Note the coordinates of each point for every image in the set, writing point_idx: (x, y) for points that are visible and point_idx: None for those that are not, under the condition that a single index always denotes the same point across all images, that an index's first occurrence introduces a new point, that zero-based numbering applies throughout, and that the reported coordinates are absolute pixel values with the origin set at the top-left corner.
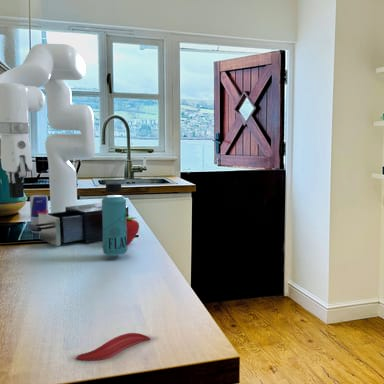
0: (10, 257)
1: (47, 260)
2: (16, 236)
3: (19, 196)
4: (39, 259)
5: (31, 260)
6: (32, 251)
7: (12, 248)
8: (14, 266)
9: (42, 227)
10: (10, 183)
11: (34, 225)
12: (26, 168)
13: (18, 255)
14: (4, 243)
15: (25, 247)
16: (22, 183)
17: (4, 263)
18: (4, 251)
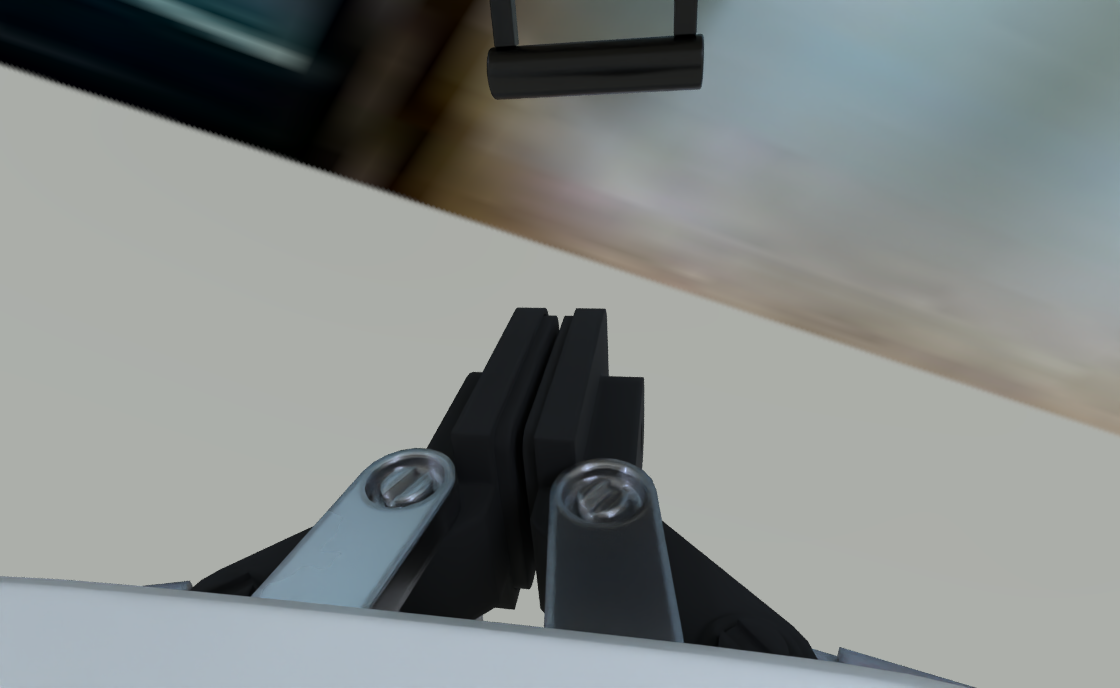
0: (756, 282)
1: (1046, 132)
2: (168, 38)
3: (604, 365)
4: (966, 165)
5: (940, 215)
6: (711, 118)
7: (533, 193)
8: (976, 336)
9: (688, 17)
10: (512, 594)
11: (599, 75)
12: (385, 678)
13: (746, 230)
14: (361, 184)
15: (559, 113)
16: (579, 446)
17: (862, 350)
18: (581, 257)
